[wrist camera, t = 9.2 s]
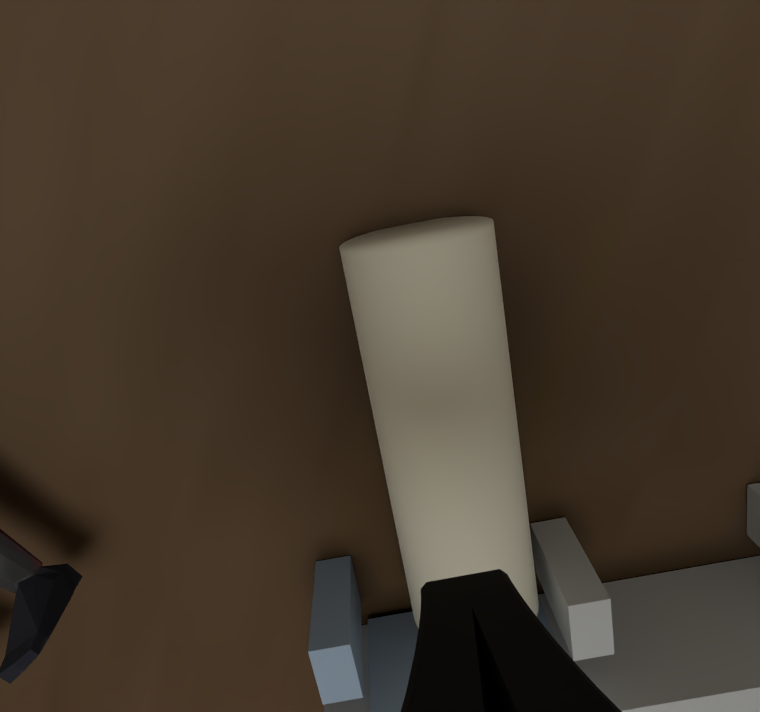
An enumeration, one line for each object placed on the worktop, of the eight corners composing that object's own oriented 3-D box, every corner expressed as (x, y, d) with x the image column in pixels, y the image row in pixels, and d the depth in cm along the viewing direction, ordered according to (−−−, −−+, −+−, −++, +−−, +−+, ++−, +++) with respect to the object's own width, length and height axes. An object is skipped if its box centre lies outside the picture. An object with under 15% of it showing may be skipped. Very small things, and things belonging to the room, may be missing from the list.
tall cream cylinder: (318, 245, 17) (378, 260, 14) (442, 213, 19) (526, 219, 15) (392, 595, 21) (454, 675, 18) (490, 547, 23) (566, 613, 19)
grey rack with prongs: (788, 477, 21) (913, 574, 17) (784, 574, 23) (898, 689, 18) (310, 562, 22) (298, 681, 17) (333, 653, 23) (328, 786, 18)
